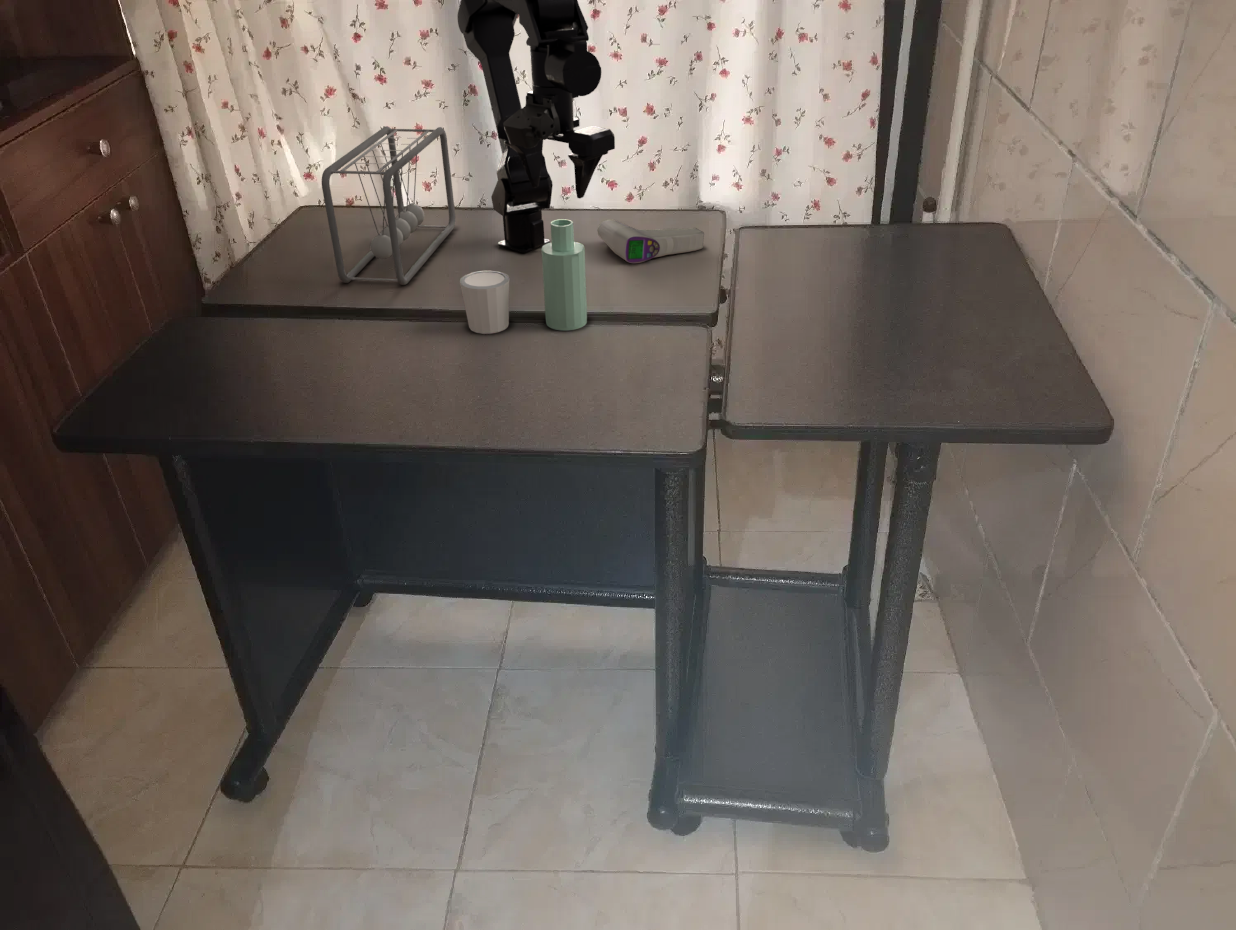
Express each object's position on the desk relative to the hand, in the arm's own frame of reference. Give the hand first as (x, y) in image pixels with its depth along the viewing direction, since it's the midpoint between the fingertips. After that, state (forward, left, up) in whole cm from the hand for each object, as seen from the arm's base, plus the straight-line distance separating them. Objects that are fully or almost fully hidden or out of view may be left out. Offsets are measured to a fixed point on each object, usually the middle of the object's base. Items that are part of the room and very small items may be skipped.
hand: (557, 192), depth 145 cm
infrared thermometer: (+4, +18, -13) cm, 23 cm away
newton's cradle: (-27, -10, -13) cm, 32 cm away
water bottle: (+13, -13, -13) cm, 23 cm away
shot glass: (+5, -21, -13) cm, 25 cm away
